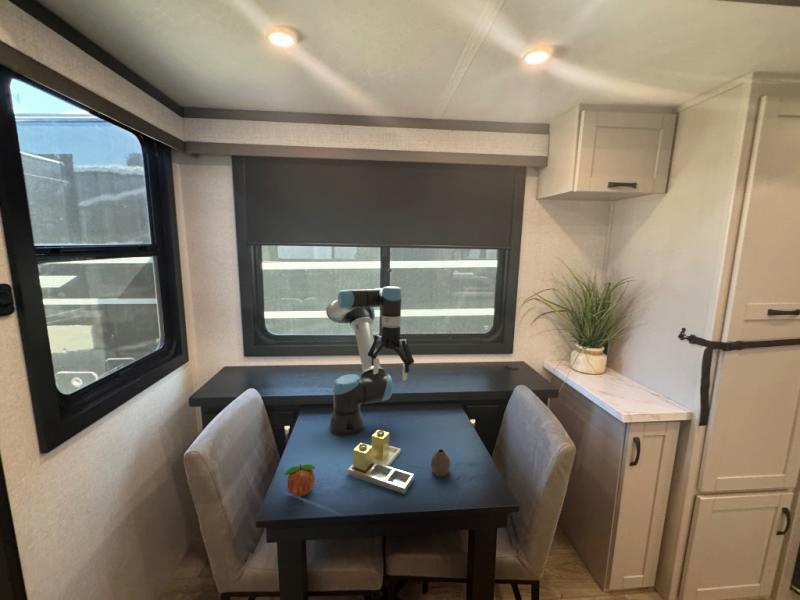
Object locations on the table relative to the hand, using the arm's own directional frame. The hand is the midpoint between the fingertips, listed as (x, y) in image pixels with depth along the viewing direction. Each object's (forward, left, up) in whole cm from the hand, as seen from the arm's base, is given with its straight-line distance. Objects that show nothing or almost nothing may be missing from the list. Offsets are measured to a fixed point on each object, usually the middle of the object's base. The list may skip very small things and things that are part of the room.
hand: (389, 376), depth 139 cm
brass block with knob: (+1, -22, -28) cm, 36 cm away
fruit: (-12, -40, -29) cm, 51 cm away
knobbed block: (+2, -11, -28) cm, 30 cm away
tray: (+2, -11, -29) cm, 31 cm away
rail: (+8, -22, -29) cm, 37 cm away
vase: (+26, -10, -29) cm, 40 cm away
